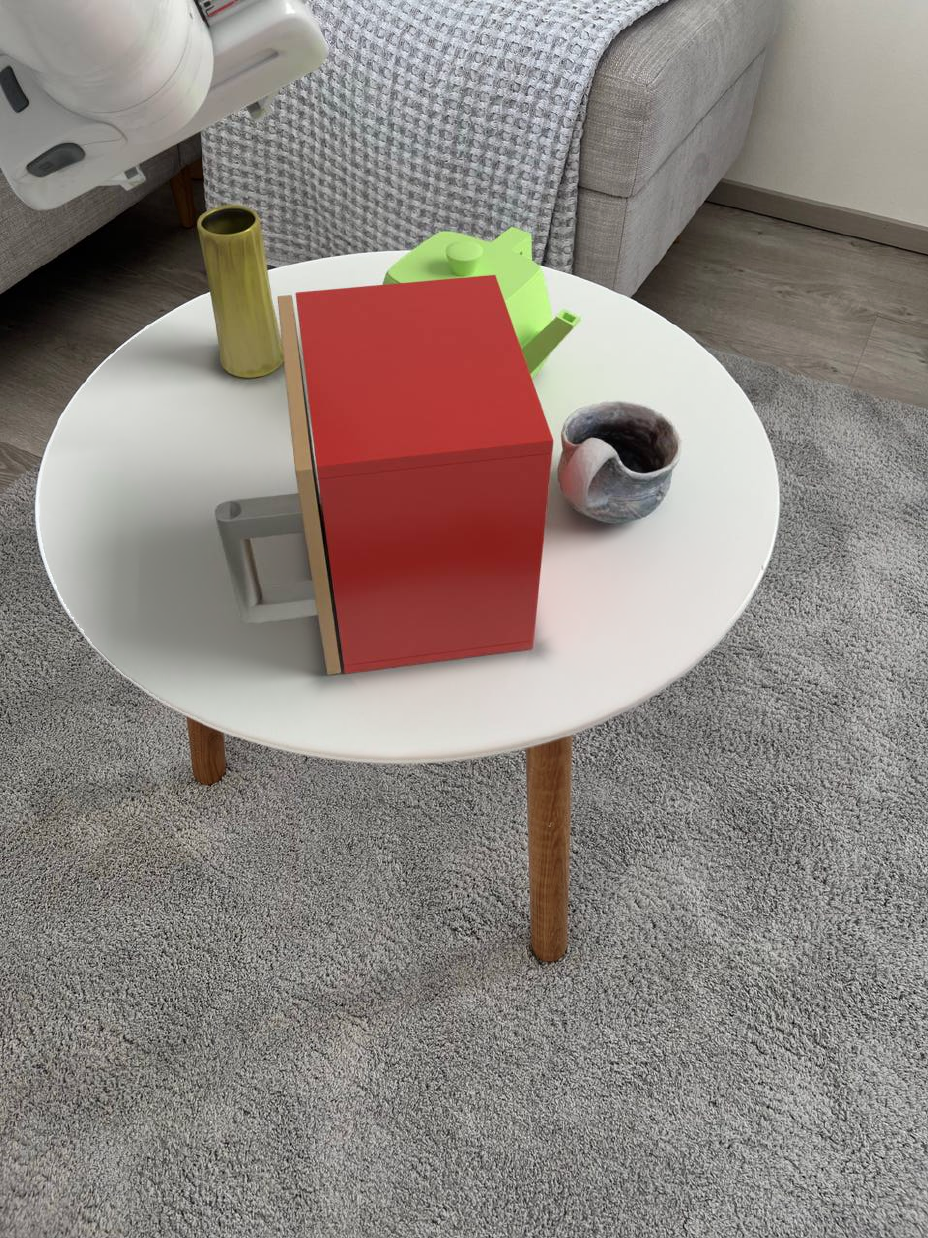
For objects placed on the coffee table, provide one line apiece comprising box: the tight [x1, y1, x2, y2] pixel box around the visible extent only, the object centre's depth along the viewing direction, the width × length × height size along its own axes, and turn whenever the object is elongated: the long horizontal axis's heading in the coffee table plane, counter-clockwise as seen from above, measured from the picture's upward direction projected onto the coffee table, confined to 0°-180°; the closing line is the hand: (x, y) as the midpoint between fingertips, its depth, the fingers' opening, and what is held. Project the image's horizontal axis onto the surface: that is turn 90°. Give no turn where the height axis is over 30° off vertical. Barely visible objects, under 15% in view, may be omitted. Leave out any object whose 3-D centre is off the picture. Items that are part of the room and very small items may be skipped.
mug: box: [557, 400, 682, 525], centre depth 81 cm, size 10×12×10 cm
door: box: [213, 294, 342, 676], centre depth 71 cm, size 6×18×20 cm, turn 10°
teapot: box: [381, 226, 582, 381], centre depth 91 cm, size 18×20×13 cm
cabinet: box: [295, 275, 554, 674], centre depth 73 cm, size 14×18×20 cm
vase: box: [196, 204, 284, 379], centre depth 92 cm, size 6×6×14 cm
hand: (195, 141), depth 66 cm, fingers open, 8 cm apart
